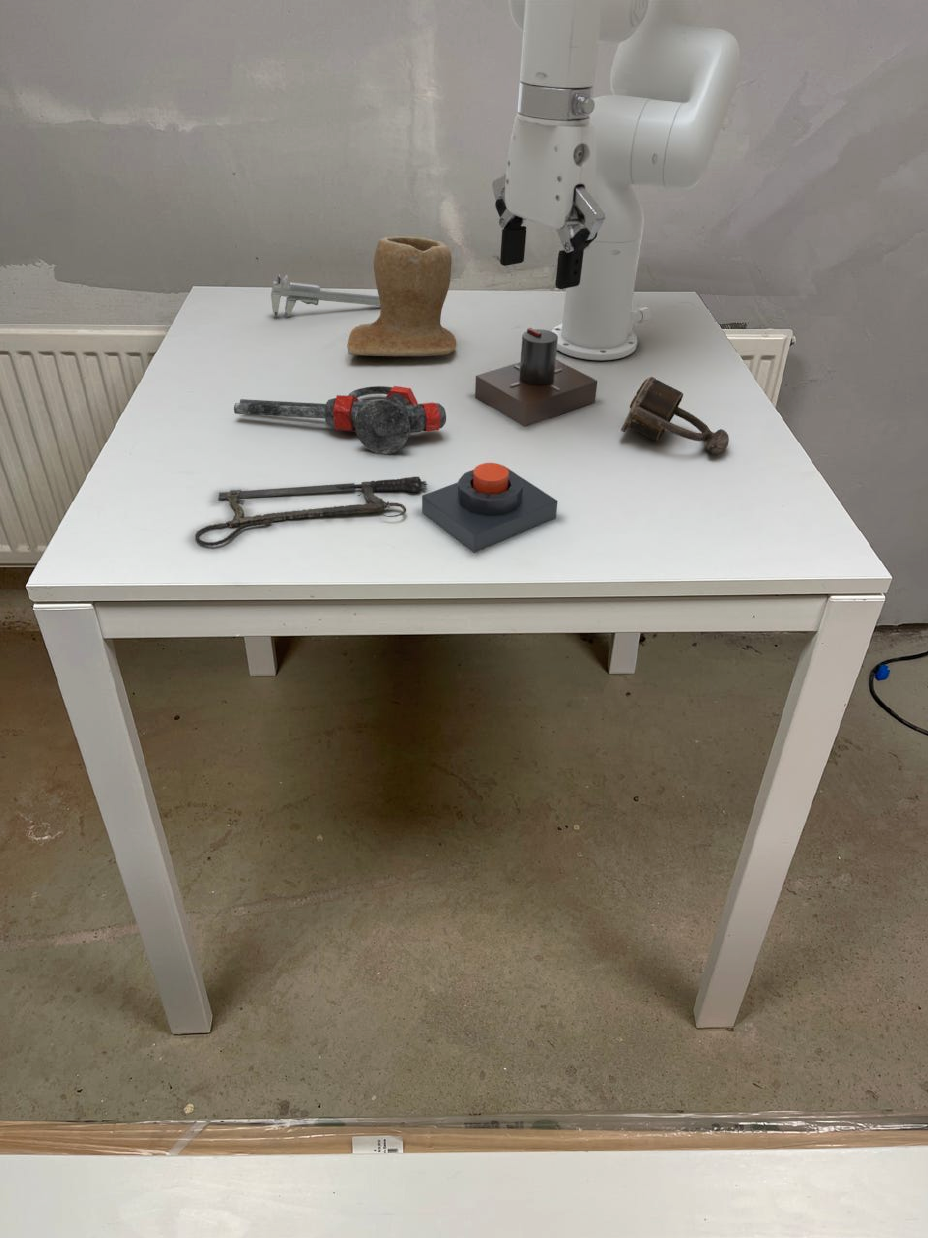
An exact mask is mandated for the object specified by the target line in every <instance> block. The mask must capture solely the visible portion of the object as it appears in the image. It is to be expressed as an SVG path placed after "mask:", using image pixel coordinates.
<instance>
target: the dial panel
mask: <svg viewBox="0 0 928 1238" xmlns="http://www.w3.org/2000/svg"><path fill="white" fill-rule="evenodd" d="M520 362H521V361H519V362H515V363H513V364H509V365H506V366H502V367H500V368H496V369H493V370H490V371H487V372H483V373H480V374H477V375H475V386H474V398H475V399H477V400H478V401H480V402H482V403H484V404H485V405H487V406H489V407H491V408H493V409H494V410H495V411H497V412H499V413H501V414H503V415H504V416H506V417H507V418H509V419H510V420H512V421H514V422H516V424H519V425H520V426H522V427H529V426H531V425H534V424H537V423H540V422H543V421H545V420H548V419H552V418H555V417H558V416H560V415H563V414H566V413H569V412H572V411H574V410H578V409H580V408H583V407H586V406H589V405H593V404H595V403H596V396H597V390H598V380H597V379H595V378H593V377H591V376H589V375H587V374H585V373H583V372H581V371H579V370H578V369H575V368H573V367H571V366H570V365H568V364H565V363H564V362H562V361H560V360H558V359H556V362H555V373H554V380H553V381H552V382H551V383H549V384H545V385H532V384H528V383H525V382H523V381H522V380H521V379H520Z"/></svg>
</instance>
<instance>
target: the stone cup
mask: <svg viewBox="0 0 928 1238" xmlns="http://www.w3.org/2000/svg"><path fill="white" fill-rule="evenodd" d="M452 260H453V259H452V251H451V250H450V248H449V246H448V245H447V244H445V243H444V242H442V241H439V240H435V239H431V238H428V237H427V238H426V237H421V236H420V237H418V236H384V237H382V238H379V240H378V241H377V245H376V248H375V252H374V258H373V272H374V278H375V284H376V289H377V290H376V291H377V294H378V295H379V300H380V306H379V307H380V311H379V312H380V313H379V316H378V318H377V319H376V320H375V321H373V322H371V323H364V324H363V323H362V324H359V325H357V326H355V327H353V328H352V329H351V331H350V333H349V335H348V339H347V344H346V345H347V355H351V356H371V357H429V356H445V355H450V354H452V353H453V352H455V350H456V349H457V345H458V343H457V338H456V336H455V335H454V334H453V332H452V331H450V330H449V329H447V328H445V327H443V326H442V325H441V319H442V310H443V306H444V304H445V301H446V298H447V295H448V293H449V289H450V284H451V278H452V263H453V261H452Z"/></svg>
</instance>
